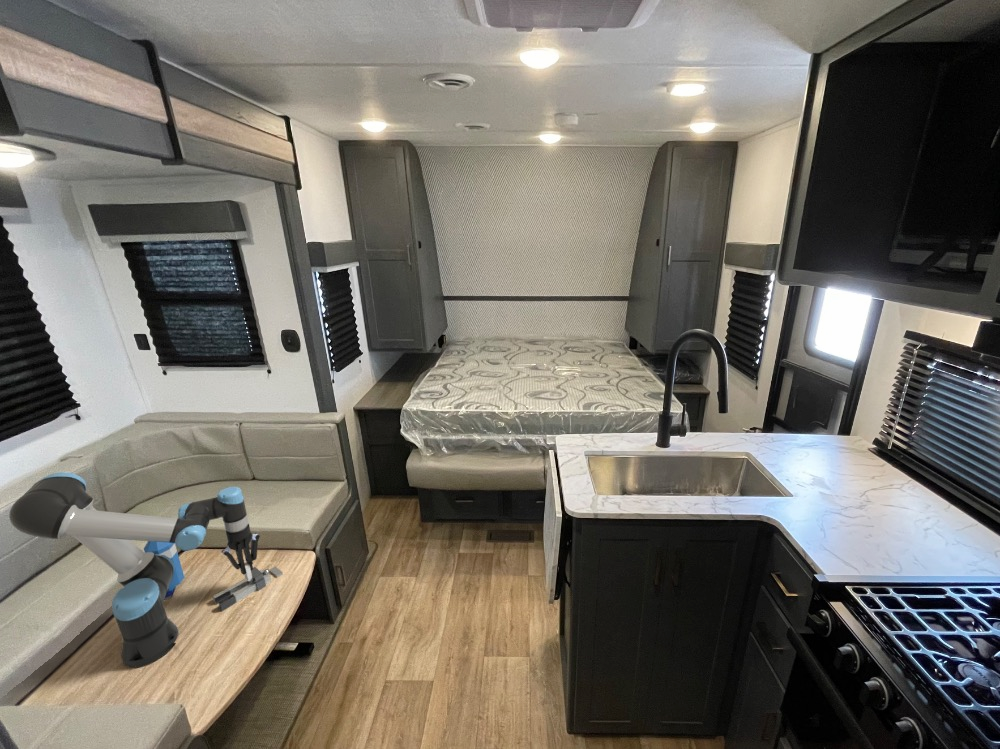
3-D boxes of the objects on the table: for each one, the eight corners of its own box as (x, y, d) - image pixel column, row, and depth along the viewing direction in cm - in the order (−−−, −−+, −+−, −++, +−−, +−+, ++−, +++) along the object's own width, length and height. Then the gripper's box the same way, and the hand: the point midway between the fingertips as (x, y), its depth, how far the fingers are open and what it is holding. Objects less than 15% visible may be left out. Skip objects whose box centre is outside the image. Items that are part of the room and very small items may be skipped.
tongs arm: (218, 607, 158) (216, 599, 157) (214, 601, 160) (212, 594, 159) (270, 577, 172) (269, 570, 171) (266, 573, 174) (265, 565, 173)
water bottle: (169, 595, 165) (153, 541, 158) (150, 592, 167) (133, 538, 160) (190, 578, 174) (176, 525, 167) (172, 574, 176) (157, 523, 169)
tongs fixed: (222, 611, 156) (220, 605, 155) (215, 603, 160) (213, 597, 159) (283, 574, 174) (281, 568, 173) (275, 568, 177) (274, 562, 176)
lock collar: (258, 590, 165) (255, 579, 164) (249, 582, 169) (247, 571, 168) (266, 586, 167) (263, 574, 166) (257, 578, 172) (254, 566, 170)
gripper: (250, 514, 166) (261, 564, 173) (213, 532, 156) (226, 584, 163) (260, 521, 162) (270, 572, 168) (222, 540, 151) (235, 593, 158)
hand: (248, 578), depth 165 cm, fingers closed
